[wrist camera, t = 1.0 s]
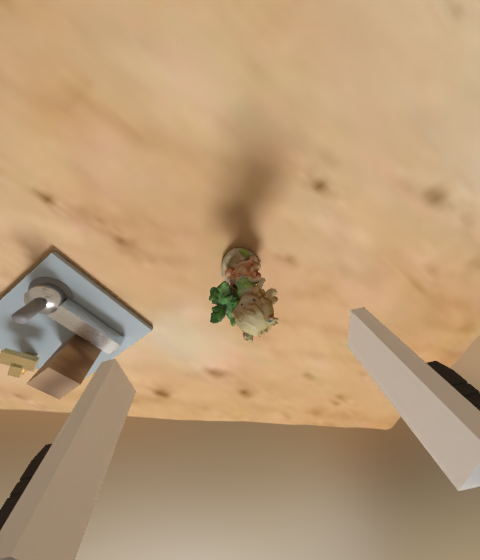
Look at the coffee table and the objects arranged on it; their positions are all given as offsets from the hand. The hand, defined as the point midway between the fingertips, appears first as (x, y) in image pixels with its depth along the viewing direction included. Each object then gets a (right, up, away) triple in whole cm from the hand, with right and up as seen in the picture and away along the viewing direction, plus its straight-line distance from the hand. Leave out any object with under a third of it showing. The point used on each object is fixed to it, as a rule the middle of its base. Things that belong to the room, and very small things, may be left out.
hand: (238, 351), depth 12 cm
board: (-30, -4, +25) cm, 40 cm away
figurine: (-1, +6, +24) cm, 25 cm away
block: (-28, -8, +26) cm, 39 cm away
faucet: (-26, -2, +23) cm, 35 cm away
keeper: (-37, -8, +26) cm, 46 cm away
